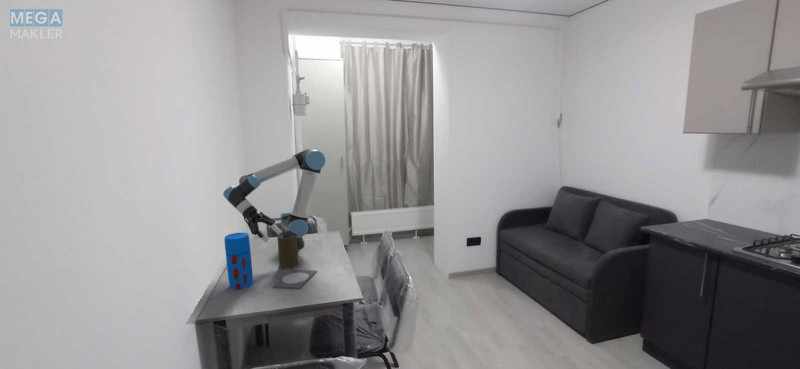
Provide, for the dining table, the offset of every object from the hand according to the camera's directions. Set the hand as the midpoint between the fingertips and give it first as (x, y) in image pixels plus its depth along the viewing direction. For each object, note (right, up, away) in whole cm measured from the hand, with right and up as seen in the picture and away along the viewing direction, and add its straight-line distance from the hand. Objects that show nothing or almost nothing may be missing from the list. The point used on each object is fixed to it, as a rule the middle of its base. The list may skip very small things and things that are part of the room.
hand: (274, 237), depth 194 cm
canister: (+8, -16, +2) cm, 18 cm away
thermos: (-9, -20, -21) cm, 30 cm away
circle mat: (+17, -19, -16) cm, 30 cm away
